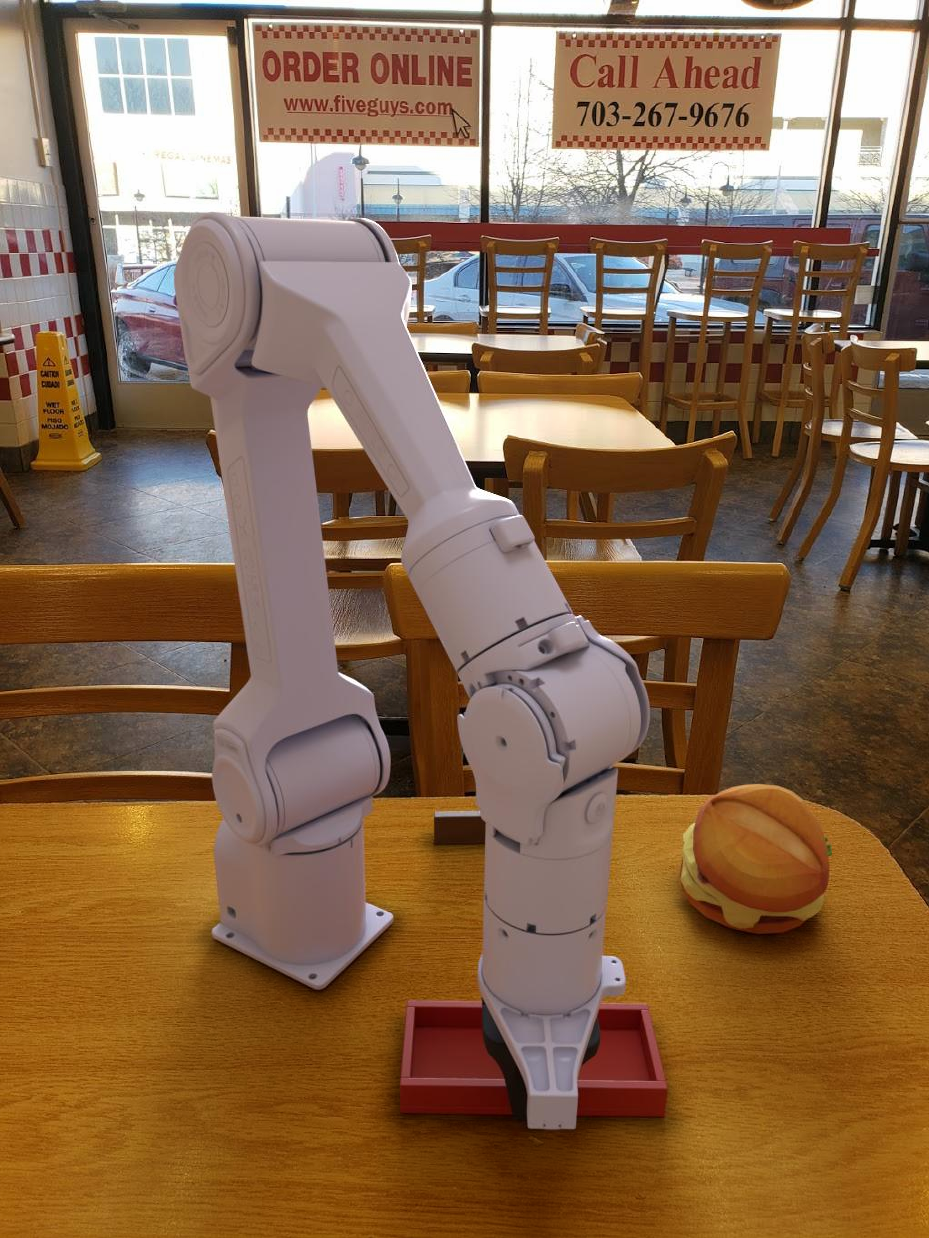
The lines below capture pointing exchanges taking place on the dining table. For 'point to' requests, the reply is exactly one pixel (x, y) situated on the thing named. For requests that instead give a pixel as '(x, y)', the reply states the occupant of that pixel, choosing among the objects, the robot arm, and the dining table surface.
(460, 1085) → the tray
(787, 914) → the cheeseburger
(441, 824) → the back rail
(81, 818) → the dining table surface
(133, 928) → the dining table surface
